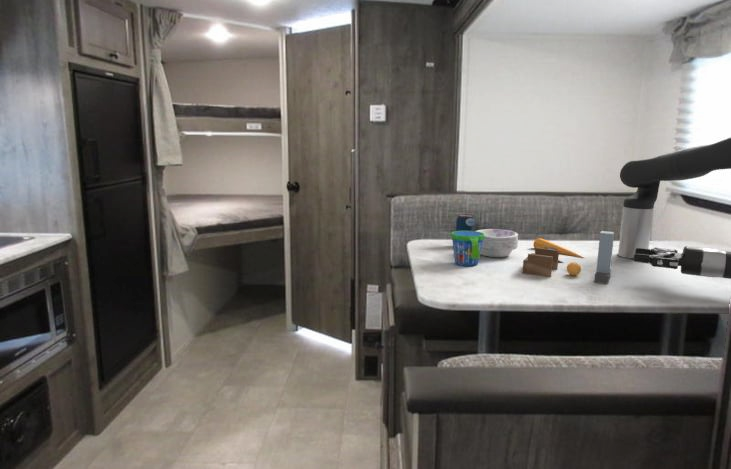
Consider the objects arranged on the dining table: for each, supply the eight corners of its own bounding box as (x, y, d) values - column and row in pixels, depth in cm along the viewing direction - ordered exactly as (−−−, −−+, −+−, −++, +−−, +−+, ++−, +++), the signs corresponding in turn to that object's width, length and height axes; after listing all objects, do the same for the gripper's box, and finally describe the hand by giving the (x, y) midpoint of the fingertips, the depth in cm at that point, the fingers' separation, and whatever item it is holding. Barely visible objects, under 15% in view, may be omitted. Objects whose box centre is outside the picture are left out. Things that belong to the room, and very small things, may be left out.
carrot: (531, 250, 189) (530, 240, 187) (538, 244, 191) (538, 234, 189) (582, 266, 175) (581, 256, 172) (589, 260, 177) (589, 249, 174)
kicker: (597, 275, 154) (602, 229, 151) (610, 276, 152) (615, 230, 149) (594, 282, 146) (599, 234, 143) (607, 284, 144) (612, 235, 142)
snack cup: (445, 258, 173) (446, 228, 171) (476, 258, 173) (478, 228, 171) (455, 270, 157) (456, 237, 155) (488, 270, 158) (490, 238, 156)
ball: (567, 272, 156) (568, 260, 155) (581, 274, 154) (582, 261, 153) (565, 275, 152) (566, 262, 151) (579, 277, 150) (580, 264, 149)
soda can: (475, 249, 187) (477, 216, 184) (456, 248, 187) (458, 216, 184) (472, 245, 193) (473, 213, 191) (453, 244, 193) (455, 213, 191)
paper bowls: (464, 254, 178) (465, 232, 176) (484, 247, 189) (485, 226, 188) (505, 262, 168) (506, 238, 167) (524, 254, 179) (525, 232, 178)
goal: (530, 265, 164) (532, 246, 163) (557, 268, 160) (559, 250, 159) (522, 273, 155) (523, 253, 154) (550, 277, 151) (552, 257, 150)
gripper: (703, 243, 141) (637, 237, 149) (706, 253, 129) (635, 246, 137) (699, 269, 143) (634, 262, 151) (702, 282, 131) (631, 273, 138)
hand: (634, 254), depth 144 cm, fingers open, 8 cm apart
